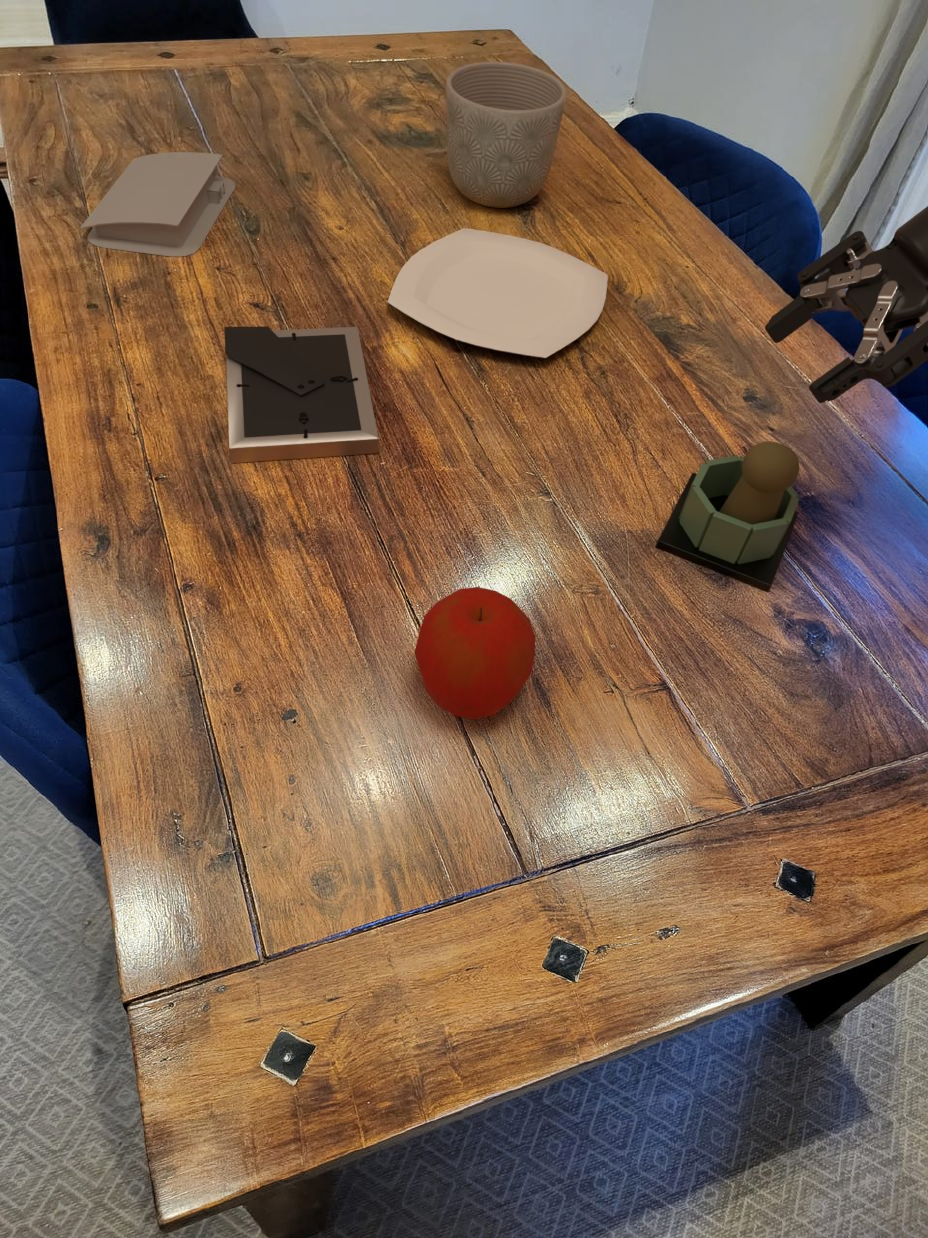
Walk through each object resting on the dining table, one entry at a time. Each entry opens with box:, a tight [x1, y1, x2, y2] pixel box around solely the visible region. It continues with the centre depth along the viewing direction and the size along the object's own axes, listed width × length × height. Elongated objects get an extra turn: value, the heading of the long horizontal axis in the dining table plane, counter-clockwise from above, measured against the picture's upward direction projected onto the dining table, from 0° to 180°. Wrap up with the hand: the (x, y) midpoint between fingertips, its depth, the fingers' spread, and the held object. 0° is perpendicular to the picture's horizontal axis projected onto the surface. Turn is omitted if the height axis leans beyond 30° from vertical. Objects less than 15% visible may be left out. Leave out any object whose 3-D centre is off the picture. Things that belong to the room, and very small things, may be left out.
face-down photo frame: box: [224, 325, 380, 464], centre depth 100 cm, size 16×3×21 cm
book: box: [79, 151, 236, 258], centre depth 122 cm, size 15×23×4 cm, turn 173°
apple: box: [413, 586, 536, 720], centre depth 73 cm, size 10×10×12 cm
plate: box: [387, 227, 609, 360], centre depth 115 cm, size 27×27×2 cm
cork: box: [719, 441, 800, 525], centre depth 87 cm, size 6×6×11 cm
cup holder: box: [655, 454, 800, 593], centre depth 90 cm, size 12×12×6 cm
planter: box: [445, 61, 568, 209], centre depth 128 cm, size 17×17×15 cm
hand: (791, 364), depth 75 cm, fingers open, 8 cm apart
